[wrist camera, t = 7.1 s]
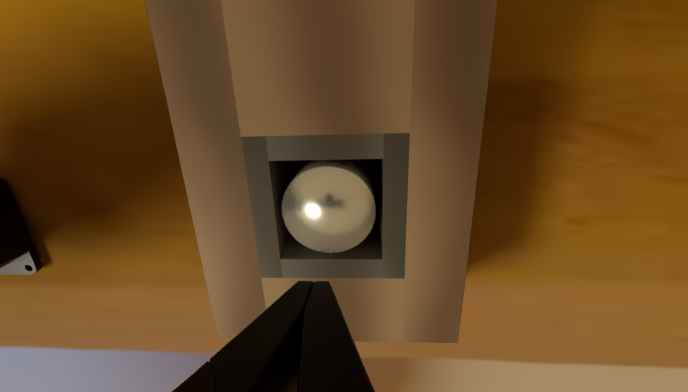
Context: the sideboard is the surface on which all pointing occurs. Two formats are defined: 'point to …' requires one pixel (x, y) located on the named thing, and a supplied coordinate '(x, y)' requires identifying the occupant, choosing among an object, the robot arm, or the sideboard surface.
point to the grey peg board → (330, 147)
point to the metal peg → (330, 204)
